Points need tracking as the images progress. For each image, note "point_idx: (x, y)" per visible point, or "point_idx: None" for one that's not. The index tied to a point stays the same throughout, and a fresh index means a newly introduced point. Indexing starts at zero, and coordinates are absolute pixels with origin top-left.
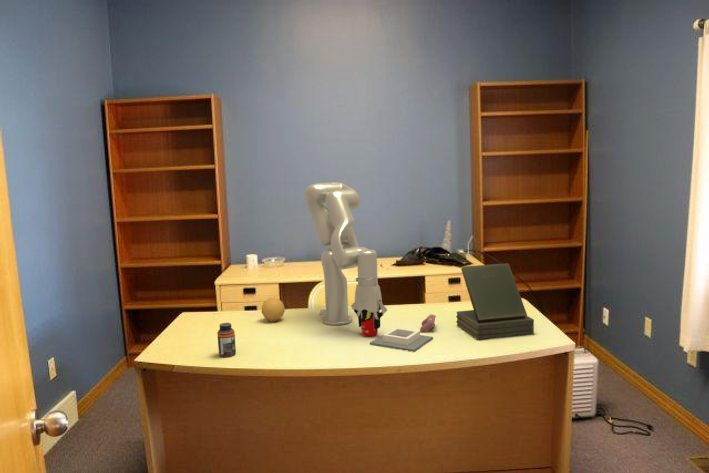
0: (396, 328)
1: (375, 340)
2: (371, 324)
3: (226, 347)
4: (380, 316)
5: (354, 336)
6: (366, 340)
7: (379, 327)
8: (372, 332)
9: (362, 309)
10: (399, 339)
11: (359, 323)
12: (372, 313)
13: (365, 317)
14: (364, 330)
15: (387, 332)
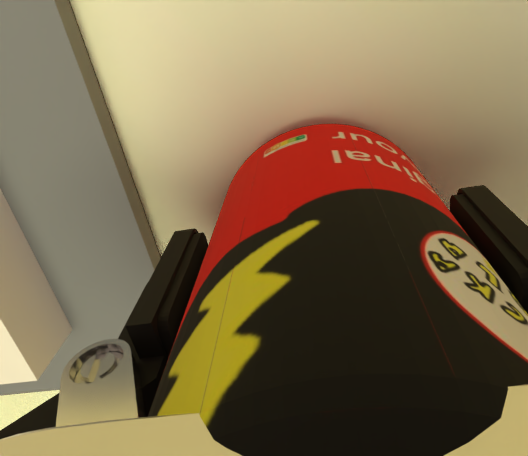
0: (10, 366)
1: (33, 21)
2: (215, 234)
3: None
4: (21, 417)
5: (458, 48)
6: (205, 16)
7: None
8: (230, 189)
9: (498, 445)
10: None
11: (492, 209)
12: None
13: (306, 250)
14: (325, 137)
15: None
